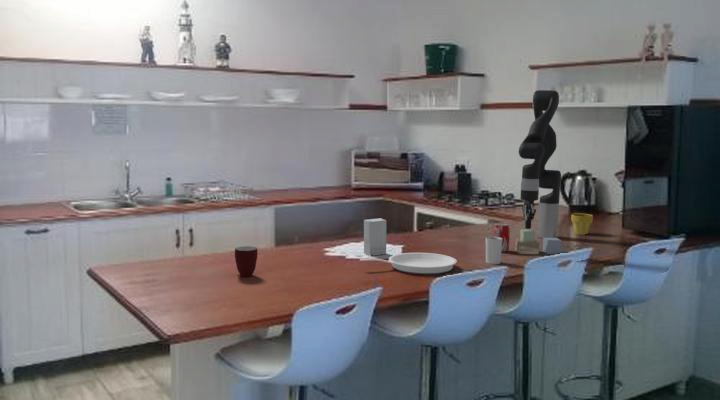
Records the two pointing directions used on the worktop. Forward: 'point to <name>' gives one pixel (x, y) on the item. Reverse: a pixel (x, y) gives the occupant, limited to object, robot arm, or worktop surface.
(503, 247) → the soda can
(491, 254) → the drinking glass
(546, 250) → the slate block
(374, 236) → the skincare box
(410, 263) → the pan
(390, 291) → the worktop surface
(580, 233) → the plant pot
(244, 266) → the mug
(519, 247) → the button housing
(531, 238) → the green cap
